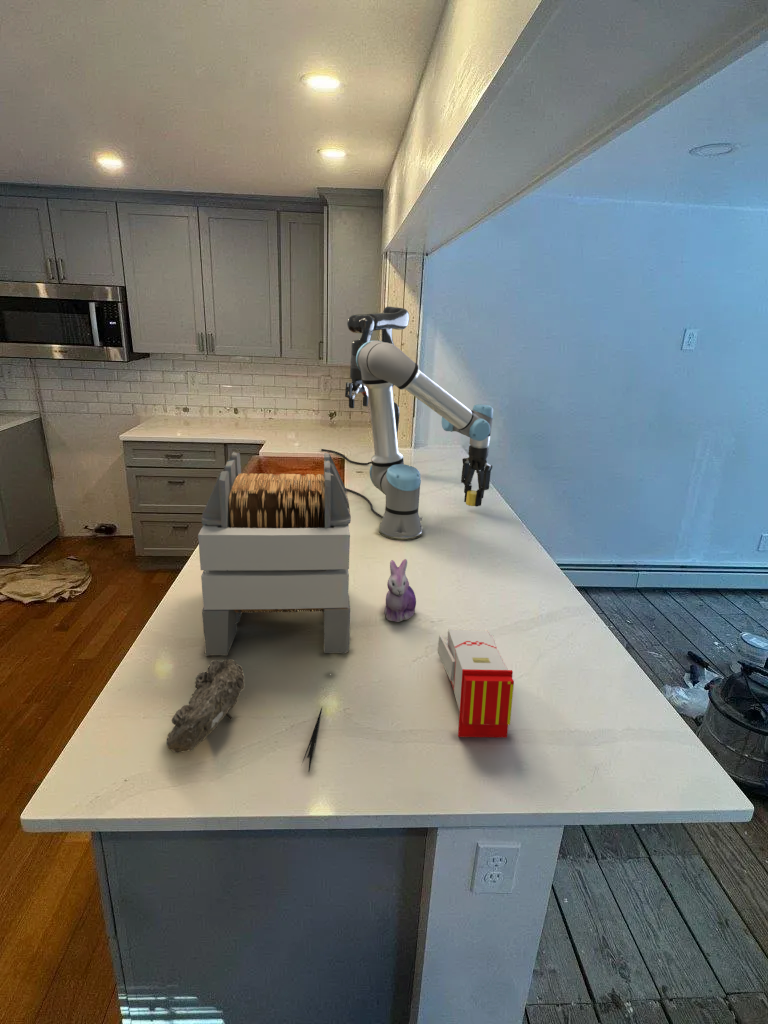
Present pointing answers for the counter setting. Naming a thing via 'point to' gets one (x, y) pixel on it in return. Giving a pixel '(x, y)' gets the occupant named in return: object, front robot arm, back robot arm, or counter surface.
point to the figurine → (399, 594)
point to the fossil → (206, 705)
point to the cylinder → (471, 497)
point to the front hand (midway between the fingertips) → (472, 503)
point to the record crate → (275, 551)
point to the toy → (478, 682)
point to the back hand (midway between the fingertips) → (358, 407)
